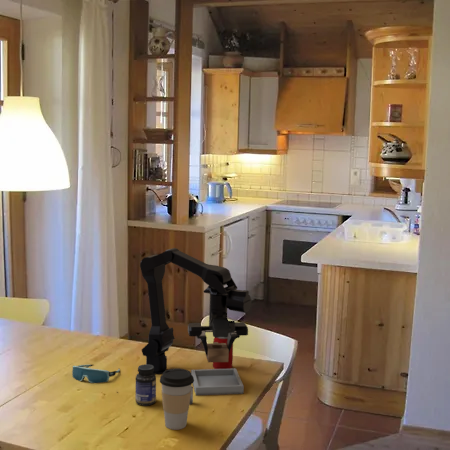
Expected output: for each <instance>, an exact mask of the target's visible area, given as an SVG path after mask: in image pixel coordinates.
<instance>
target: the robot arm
mask: <svg viewBox="0 0 450 450" xmlns="http://www.w3.org/2000/svg"><path fill="white" fill-rule="evenodd" d="M171 263H172V264H173V265H176V266H177V267H179V268H182V269H183V270H185V271H188V272H190V273H192V274H193V275H196V276H197V277H200V278H201V280H202V281H203V282H204V283H205V284H206V285H208V286H207V287H206V288H205V289H204V290H203V293H204V294H209V307H208V308H209V309H208V310H209V311H208V313H209V314H208V319H209V320H208V325H202V324H201V322H189V323H188V324H187V332H188V335H189V336H188V337H196V338H197V339H199V340H200V341H201V343H202V346H203V349H204V353H205V357H206V356H207V353H208V350H207V344H208V342H207V340H208V339H207V334H206V333H212V337H214V338H218V337H224V338H225V337H228V340H227V347H228V349H229V352H230V349H231V347H232V344H233V345H234V342H235V340H237V339H239V338H241V336H242V337H243V336H248V335H249V327H248V325H247V324H246V322H244V321H237V322H236V321H235V320H228V319H229V318H228V310H229V311H233V312H237V313H245V314H247V313H249V311H250V310H251V307H252V297H251V295H250V294H249V293H250V291H249V290H241V289H238V286H237V285H236V283H235V281H234V279H233V278H232V275H231V271H230V270H229V269H228V268H226V267H223V266H221V265H215V264H209V263H206V262H204V261H201V260H199V259H197V258H195V257H193V256H192V255H189V254H187V253H185V252H183V251H181V250H180V249H178V248H176V247H173V248H169V249H166V250H164V251H163V252H161V253H159V254H157V253H156V254H152V255H148V256H146V257H143V258H142V259H141V260H140V263H139V267H140V272H141V275H142V277H143V279H144V280H145V282H146V283H147V293H148V301H149V313H150V323H151V327H150V330H149V331H148V332H149V333H148V341H147V344H146V345H144V347H142V349H141V352H142V356H143V357H144V356H145V357H146V358H145V364H149V365H152V366H154V371H153V373H154V374H155V375H156V374H157V375H159V374H162V375H163V372H164V371H166V370H168V367H167V366H168V365H167V363H168V357H167V355H166V352H168V351H169V349H170V348H171V346H172V345H173V343H174V340H175V339H176V338H175V336H174V328H173V327H169V325H168V323H167V319H166V318H167V317H166V308H165V300H164V299H165V298H164V289H163V279H164V275H165V273H166V265H168V264H171Z"/></svg>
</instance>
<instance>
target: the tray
mask: <svg viewBox="0 0 450 450" xmlns="http://www.w3.org/2000/svg"><path fill="white" fill-rule="evenodd" d="M190 372H191V375H192V376H193V377H194V382H193V383H192V387H193V391H194V393H195V396H210V395H211V396H215V395H216V396H219V395H242V394H244V393H245V391H244V384H243V381H242V380H241V377H240V375H239V372H238V370H237V368H231V369H215V368H205V369H190Z"/></svg>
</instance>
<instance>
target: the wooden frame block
mask: <svg viewBox="0 0 450 450" xmlns="http://www.w3.org/2000/svg"><path fill="white" fill-rule="evenodd" d="M207 350H208V353H207V356H206V355H205V357H206V359H207V363H213V362H228V357H229V349H228V347H227V345H226V343H218V342H212V343H211V342H210V343H207Z"/></svg>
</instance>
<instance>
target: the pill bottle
mask: <svg viewBox="0 0 450 450" xmlns="http://www.w3.org/2000/svg"><path fill="white" fill-rule="evenodd" d="M153 371H154V366H152V365H149V364H146V363H145V364H141V365H138V366H137V374H136V375H135V403H136V404H137V405H138V406H145V407H148V406H152V405H154V404H155V403H156V402H157V401H156V400H157V399H156V398H157V375H156V374H154V373H153Z"/></svg>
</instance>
